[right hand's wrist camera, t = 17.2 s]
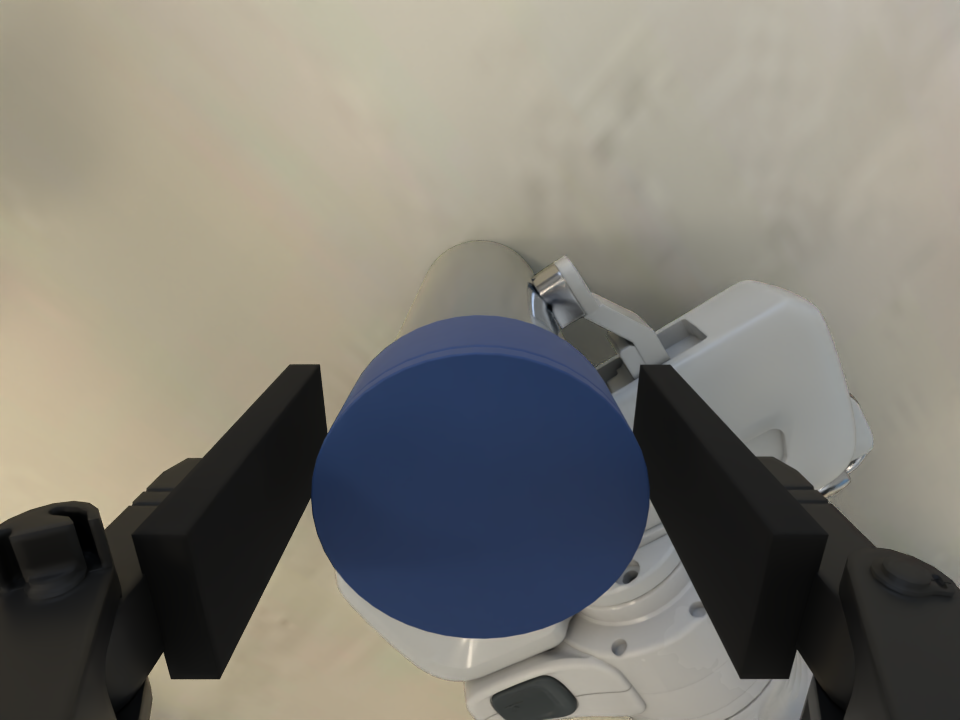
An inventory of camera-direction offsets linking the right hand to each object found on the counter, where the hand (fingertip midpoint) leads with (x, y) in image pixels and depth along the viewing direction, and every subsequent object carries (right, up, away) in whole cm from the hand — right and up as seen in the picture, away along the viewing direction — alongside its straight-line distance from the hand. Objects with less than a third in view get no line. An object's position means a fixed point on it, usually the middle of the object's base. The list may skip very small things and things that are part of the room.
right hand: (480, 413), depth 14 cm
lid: (0, -1, -4) cm, 4 cm away
